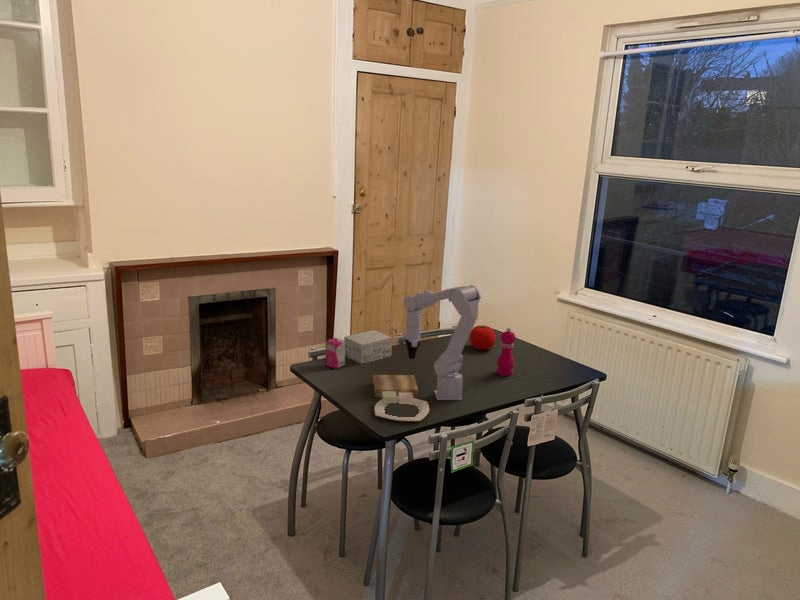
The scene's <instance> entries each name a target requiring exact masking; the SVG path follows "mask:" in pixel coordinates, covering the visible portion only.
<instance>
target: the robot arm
mask: <svg viewBox="0 0 800 600" xmlns="http://www.w3.org/2000/svg"><path fill="white" fill-rule="evenodd" d="M481 298H482V297H481V293H480V292H479V290H478V288H477V287H476V286H475V285H472V284H471V285H468V286H466V285H462V286H455V287H451V288H446V289H443V290H440V291H436V292H435V291H432V290H429V289H427V290H426V289H425V290H423V292H421V293H419V292H416V293H414V294H413V295H408V296H407V297H405V298H404V300H403V307H404V309H405V310H406V315H405V316H406V317H405V334H403V335H402V336H401V337H402V339H405V340H404V342H405V345H406V348H407V349H406V350H407V355H408V359H411V360H415V357H416V355H417V351H418V348H419V347H420V344H421V342H420V341H421V323H422V322H421V321H422V313H423V310H424V309H426V308H430V307H433V306H436V304H437V302H439V301H443V300H448V302H449V303H450V302H451V303H452V305H453V307H454V309H455V310H456V312H457V313H458V315H460V319H459V321H457V325H456V327H455V329H454V332H453V333H452V337H451V338H450V341H449V343H448V346H447V348H446V349H445V351H444V352H443V353H441V354H440V355H439V357H438V359H436V360H435V361H434V364H433V369H434V371H435V373H436V377H437V379H436V380H437V381H436V390H434V391H433V392H434V395H435V399H436V400H438V401H462V400H463V397H462V396H463V387H464V386H463V385H464V384H463V383H464V382H463V381H464V379H463V374H461V373H459V371H460V370H461V369H462V366H463V358H464V356H463V355H462V353H463V350H464V347H465V346H466V343H467V341H468V338H470V333H471V330H472V329H473V328H474V327H475V324H476V321H477V320H478V317H479V302H480V301H481Z"/></svg>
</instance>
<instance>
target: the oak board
mask: <svg viewBox="0 0 800 600" xmlns="http://www.w3.org/2000/svg"><path fill="white" fill-rule="evenodd" d="M372 377H373V378H372V379H373V380H372V384H373V385H374V387H373V393H375V395H374V398H375V397H382V391H396V394H397V396H398V394H399V392H402V393H412V394H413V398H415V399H418V397H419V389H418V387H419V386H418V385H417V381H416V377H415V375H414V374H413V375H412V374H404V375H403V374H373V376H372ZM373 385H372V386H373Z"/></svg>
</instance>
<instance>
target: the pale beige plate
mask: <svg viewBox="0 0 800 600" xmlns="http://www.w3.org/2000/svg"><path fill="white" fill-rule="evenodd" d="M397 403H399V400H398V396H397ZM388 404H390V403H383V400H382V398H380V400H379V401H377V402H376V404H375V405H374V409H373V410H374V415H375V416H376V417H380V418H384V419H386V420H387V419H388V420H392V421H400V422H420V421H422V420H423V419H424V418H425V417H426V416H427V415H428V414H429V412H430V406H429V403H428V401H426V400H422V399H418V398H414V399H413V404H409V405H415V406H417V407H418V409H419V413H418V414H417V415H416V416H415V417H397V416H392V415H388V414H385V410H384V409H385V407H386V406H387V405H388Z"/></svg>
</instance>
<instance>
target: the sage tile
mask: <svg viewBox="0 0 800 600" xmlns="http://www.w3.org/2000/svg"><path fill="white" fill-rule="evenodd" d="M381 399H382V400H383V403H397V394H396V391H382V398H381Z"/></svg>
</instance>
